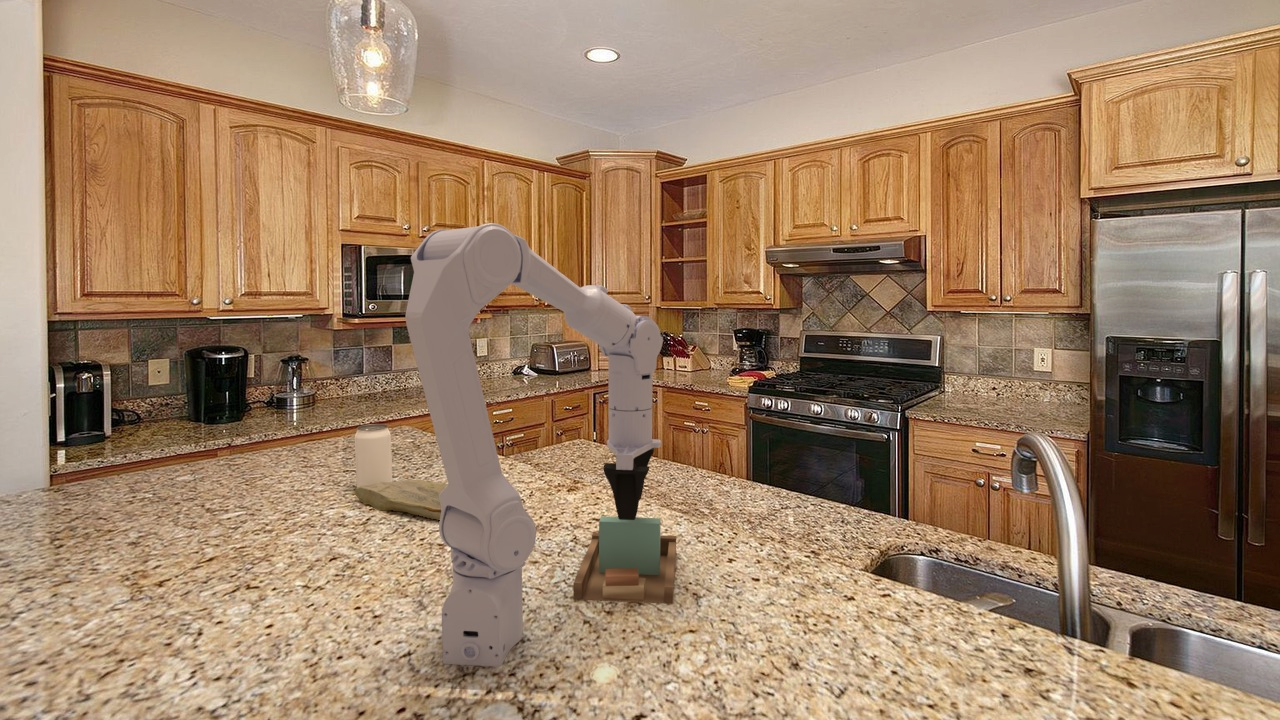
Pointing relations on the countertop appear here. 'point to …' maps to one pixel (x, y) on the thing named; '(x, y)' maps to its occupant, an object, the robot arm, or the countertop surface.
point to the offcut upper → (622, 577)
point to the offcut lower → (625, 591)
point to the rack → (656, 586)
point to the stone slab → (404, 497)
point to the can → (373, 454)
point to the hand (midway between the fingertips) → (630, 508)
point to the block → (629, 544)
